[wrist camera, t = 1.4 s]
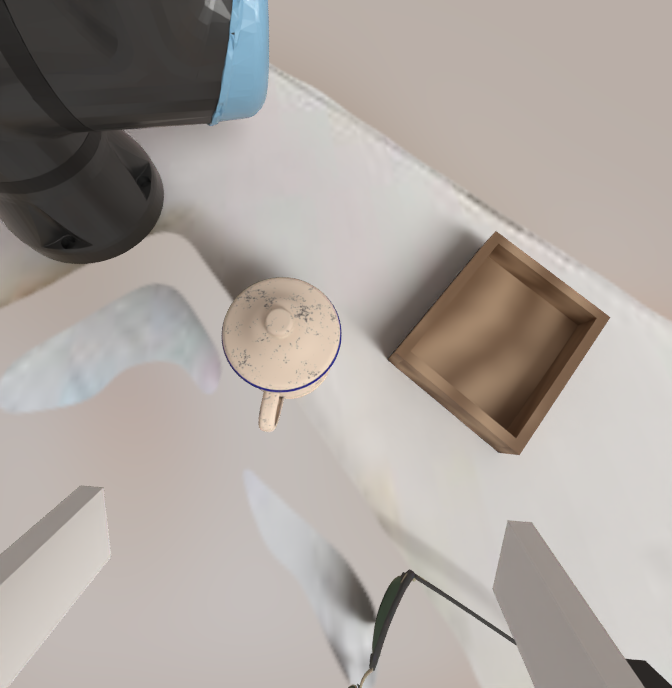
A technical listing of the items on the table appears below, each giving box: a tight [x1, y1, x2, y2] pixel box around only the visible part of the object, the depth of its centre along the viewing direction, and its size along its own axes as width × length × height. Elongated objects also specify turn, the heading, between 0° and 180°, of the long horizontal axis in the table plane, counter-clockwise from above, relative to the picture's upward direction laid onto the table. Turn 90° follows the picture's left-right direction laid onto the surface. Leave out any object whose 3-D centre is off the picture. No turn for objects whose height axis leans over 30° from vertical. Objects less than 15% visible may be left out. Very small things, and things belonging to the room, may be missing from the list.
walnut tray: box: [388, 232, 610, 455], centre depth 35 cm, size 14×17×4 cm
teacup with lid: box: [222, 277, 341, 432], centre depth 29 cm, size 12×9×12 cm
